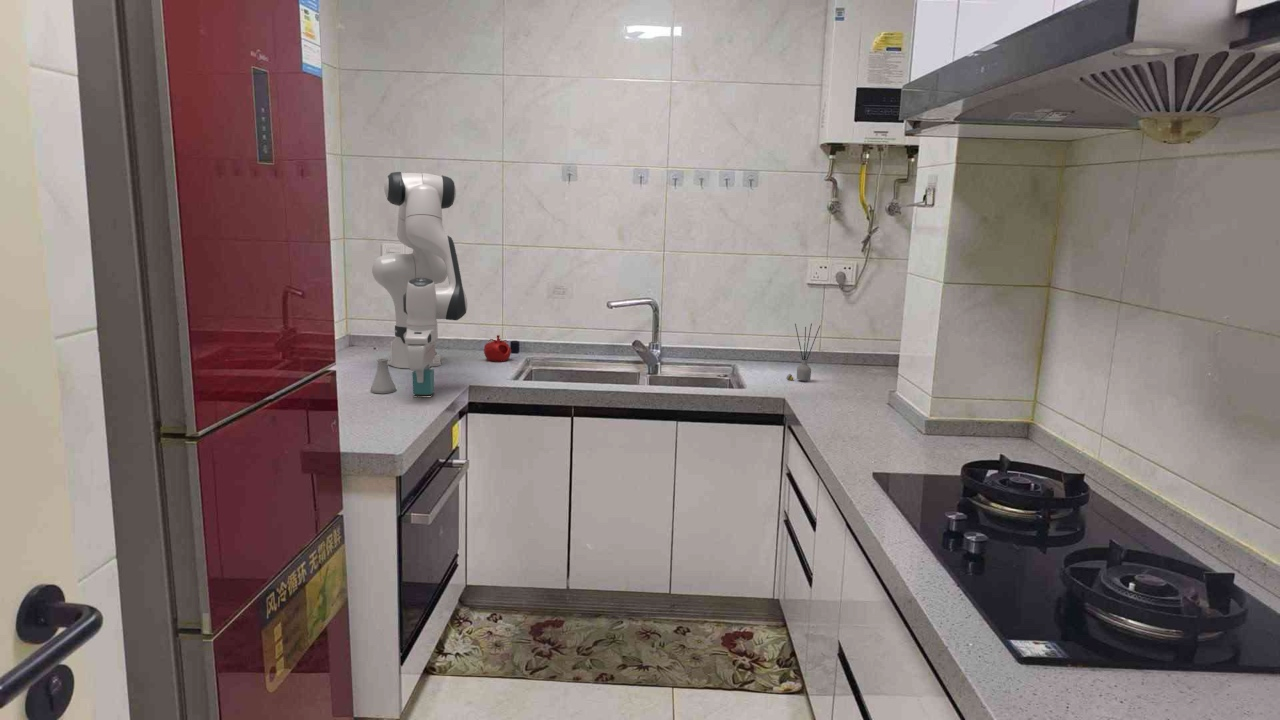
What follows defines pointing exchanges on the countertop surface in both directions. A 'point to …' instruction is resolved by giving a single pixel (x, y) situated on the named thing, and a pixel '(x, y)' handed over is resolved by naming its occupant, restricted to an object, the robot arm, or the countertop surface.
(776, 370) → the countertop surface
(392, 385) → the flask
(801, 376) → the reed diffuser
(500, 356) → the hollow red tomato
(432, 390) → the teal upright block
